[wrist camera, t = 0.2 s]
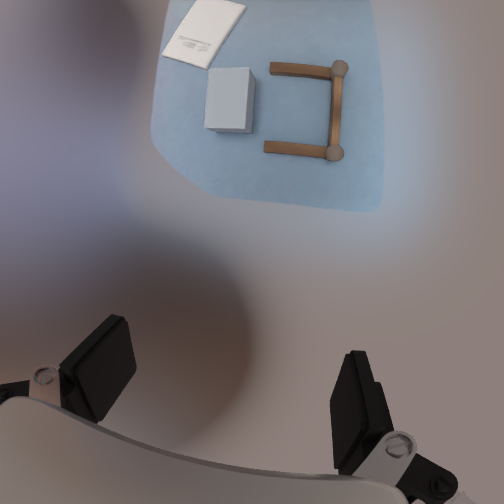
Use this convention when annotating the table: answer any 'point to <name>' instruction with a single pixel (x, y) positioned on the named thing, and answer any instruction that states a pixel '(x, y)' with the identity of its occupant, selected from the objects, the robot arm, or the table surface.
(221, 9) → the external hard drive
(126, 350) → the robot arm
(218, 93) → the tall white block
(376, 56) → the table surface
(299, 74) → the frame
